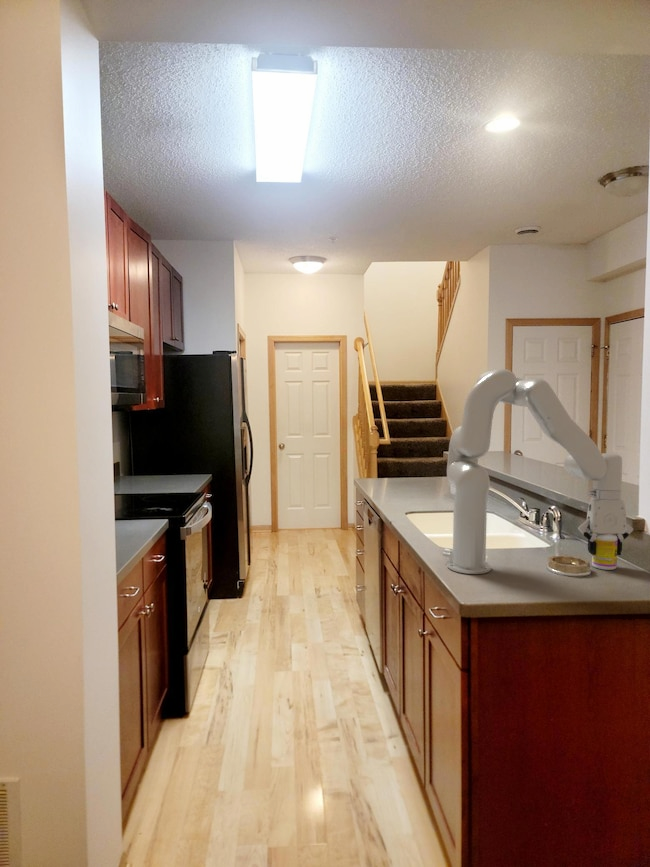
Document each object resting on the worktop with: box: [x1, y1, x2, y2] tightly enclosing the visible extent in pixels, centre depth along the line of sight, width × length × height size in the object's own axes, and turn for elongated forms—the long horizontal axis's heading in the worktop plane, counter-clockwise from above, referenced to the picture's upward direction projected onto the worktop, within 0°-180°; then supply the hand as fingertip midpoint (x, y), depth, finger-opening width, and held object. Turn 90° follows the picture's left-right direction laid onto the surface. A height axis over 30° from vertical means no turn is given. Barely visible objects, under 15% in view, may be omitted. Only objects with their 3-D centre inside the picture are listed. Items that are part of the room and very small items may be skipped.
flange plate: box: [546, 555, 592, 578], centre depth 162 cm, size 12×12×3 cm
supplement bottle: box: [591, 534, 618, 571], centre depth 164 cm, size 7×7×13 cm
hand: (604, 553), depth 165 cm, fingers closed on supplement bottle, 6 cm apart
